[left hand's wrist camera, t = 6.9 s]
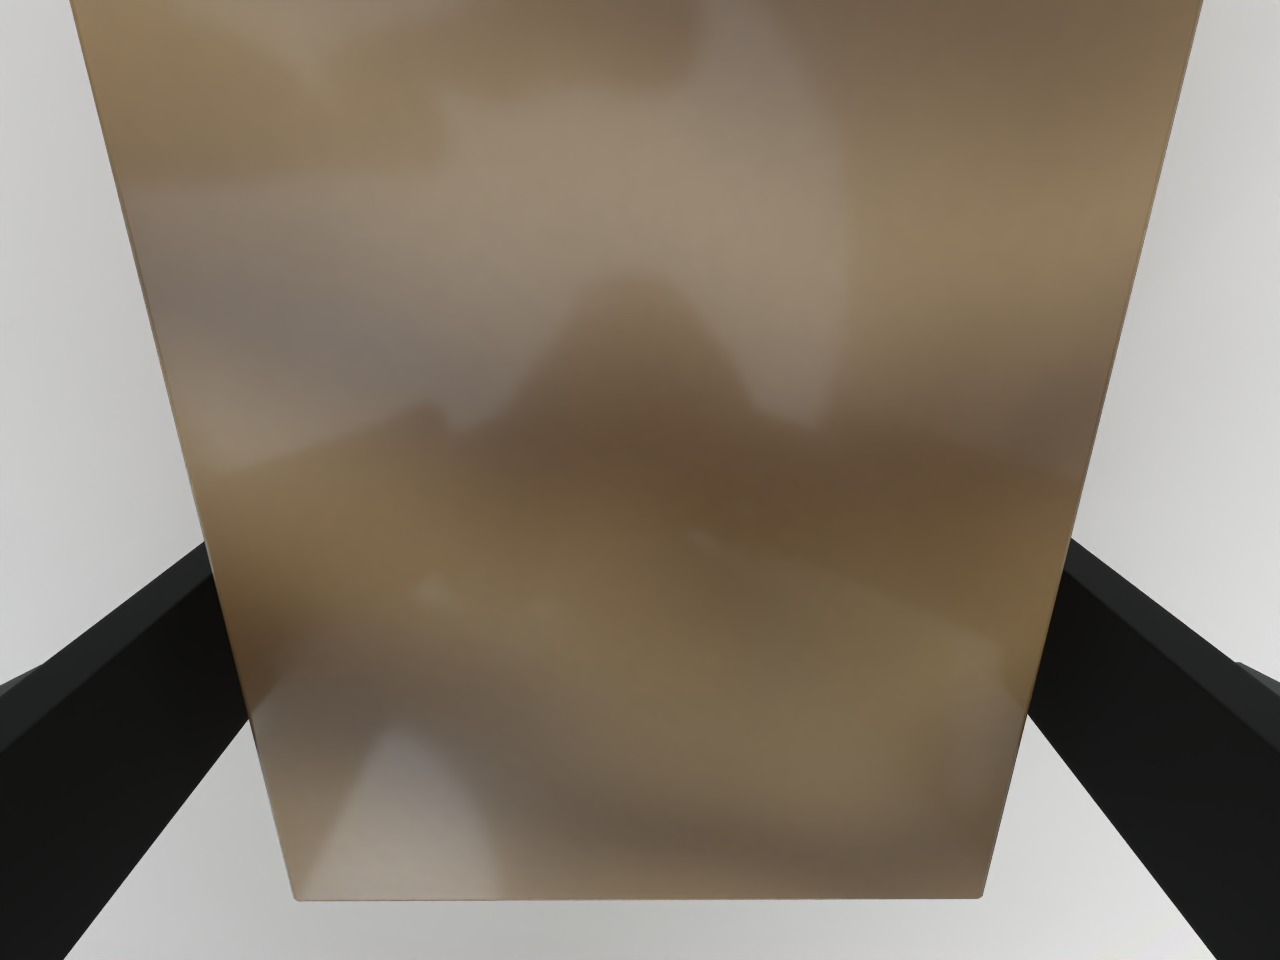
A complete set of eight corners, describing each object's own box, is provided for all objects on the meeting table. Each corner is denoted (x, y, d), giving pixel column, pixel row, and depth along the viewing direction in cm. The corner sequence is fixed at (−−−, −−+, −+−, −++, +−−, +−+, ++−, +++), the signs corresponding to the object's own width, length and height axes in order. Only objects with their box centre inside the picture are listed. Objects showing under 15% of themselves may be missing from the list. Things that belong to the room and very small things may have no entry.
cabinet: (347, -159, 13) (-132, -779, 5) (925, -158, 13) (1399, -771, 5) (440, 609, 18) (292, 904, 10) (835, 608, 18) (983, 901, 11)
